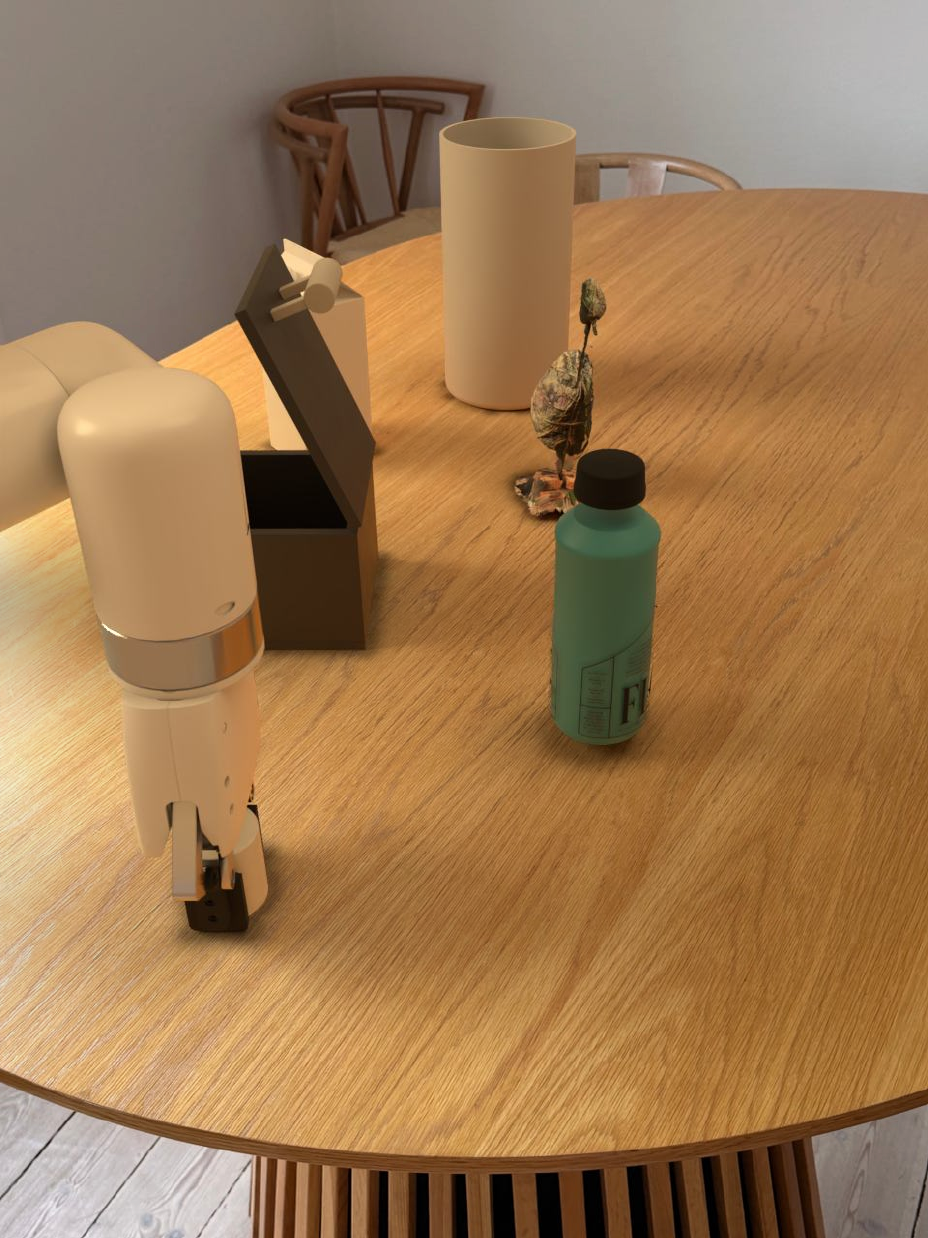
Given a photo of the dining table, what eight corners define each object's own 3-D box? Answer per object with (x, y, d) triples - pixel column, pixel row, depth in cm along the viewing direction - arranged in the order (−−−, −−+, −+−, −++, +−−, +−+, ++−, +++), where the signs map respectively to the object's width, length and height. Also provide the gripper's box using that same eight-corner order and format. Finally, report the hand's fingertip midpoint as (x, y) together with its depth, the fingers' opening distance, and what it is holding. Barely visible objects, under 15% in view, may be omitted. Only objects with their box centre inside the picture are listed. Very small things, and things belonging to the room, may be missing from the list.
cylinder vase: (458, 418, 119) (453, 153, 105) (435, 369, 129) (428, 121, 115) (581, 406, 121) (592, 144, 107) (549, 358, 131) (556, 113, 117)
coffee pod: (173, 896, 69) (160, 832, 66) (234, 853, 71) (224, 790, 68) (223, 936, 66) (211, 872, 63) (284, 890, 69) (275, 827, 66)
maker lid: (233, 313, 73) (310, 281, 72) (264, 247, 84) (332, 218, 83) (351, 530, 82) (421, 505, 81) (366, 445, 92) (429, 422, 91)
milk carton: (334, 426, 118) (319, 230, 107) (374, 453, 113) (362, 250, 103) (270, 446, 115) (247, 246, 104) (308, 475, 110) (288, 268, 99)
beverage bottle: (623, 777, 76) (645, 498, 65) (528, 745, 79) (534, 471, 68) (661, 719, 81) (689, 449, 70) (571, 690, 84) (583, 425, 72)
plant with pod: (610, 466, 111) (623, 247, 99) (600, 528, 102) (613, 295, 90) (522, 459, 112) (525, 243, 100) (504, 521, 103) (505, 290, 91)
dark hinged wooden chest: (151, 651, 88) (128, 534, 82) (186, 559, 98) (168, 450, 93) (365, 651, 88) (357, 534, 82) (378, 558, 98) (371, 449, 92)
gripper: (145, 536, 65) (192, 788, 76) (53, 743, 51) (126, 1016, 62) (284, 537, 65) (312, 789, 75) (230, 744, 51) (273, 1017, 62)
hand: (228, 889), depth 69 cm, fingers closed on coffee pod, 4 cm apart
